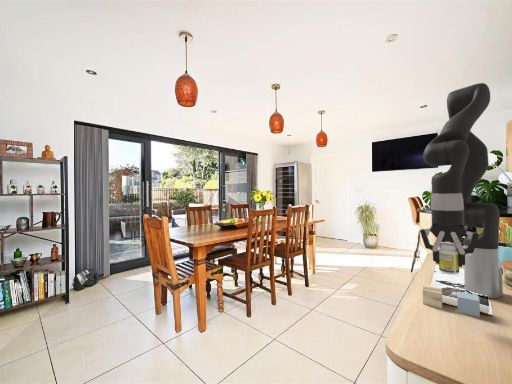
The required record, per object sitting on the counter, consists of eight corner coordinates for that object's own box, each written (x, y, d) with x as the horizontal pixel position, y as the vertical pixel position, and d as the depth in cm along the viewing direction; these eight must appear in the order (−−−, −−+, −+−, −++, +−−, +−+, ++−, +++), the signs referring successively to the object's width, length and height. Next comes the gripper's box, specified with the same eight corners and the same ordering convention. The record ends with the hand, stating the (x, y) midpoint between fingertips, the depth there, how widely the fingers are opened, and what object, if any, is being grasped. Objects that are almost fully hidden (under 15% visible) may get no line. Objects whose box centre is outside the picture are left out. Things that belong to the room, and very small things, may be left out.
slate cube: (457, 306, 77) (457, 291, 77) (478, 311, 74) (478, 295, 74) (457, 312, 73) (457, 296, 73) (479, 317, 70) (479, 301, 70)
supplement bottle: (451, 269, 72) (450, 242, 72) (463, 274, 68) (462, 245, 67) (435, 269, 73) (434, 242, 73) (446, 274, 68) (445, 246, 68)
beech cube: (424, 298, 83) (424, 284, 83) (442, 302, 79) (441, 288, 79) (423, 304, 79) (422, 289, 79) (441, 308, 76) (441, 293, 76)
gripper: (478, 207, 68) (480, 265, 68) (419, 206, 77) (420, 257, 78) (481, 210, 63) (483, 273, 63) (416, 208, 72) (418, 263, 72)
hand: (448, 264), depth 70 cm, fingers closed on supplement bottle, 4 cm apart
